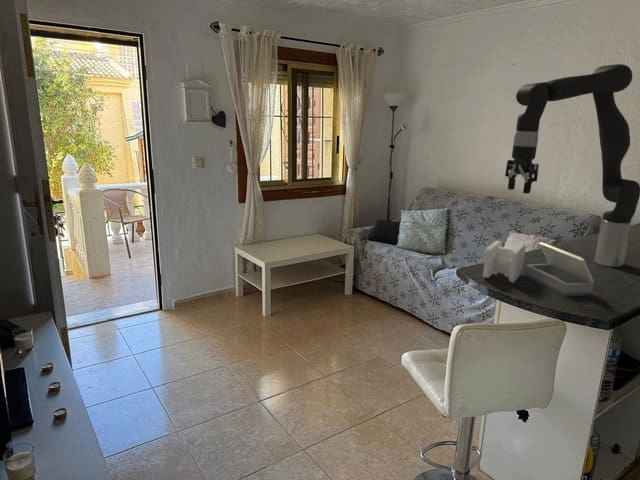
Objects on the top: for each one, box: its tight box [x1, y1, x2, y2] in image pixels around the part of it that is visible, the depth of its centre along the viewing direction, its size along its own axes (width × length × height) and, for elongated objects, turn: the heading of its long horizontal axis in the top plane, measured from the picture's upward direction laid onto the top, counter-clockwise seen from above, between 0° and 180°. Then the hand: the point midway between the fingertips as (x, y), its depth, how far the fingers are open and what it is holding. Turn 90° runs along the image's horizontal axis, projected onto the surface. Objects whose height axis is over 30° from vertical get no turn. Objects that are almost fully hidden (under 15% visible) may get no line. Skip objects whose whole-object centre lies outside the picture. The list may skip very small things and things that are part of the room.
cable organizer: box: [482, 240, 526, 284], centre depth 158 cm, size 15×11×12 cm
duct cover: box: [538, 241, 595, 284], centre depth 152 cm, size 10×20×1 cm
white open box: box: [523, 263, 594, 298], centre depth 153 cm, size 10×20×4 cm, turn 13°
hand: (518, 191), depth 160 cm, fingers open, 8 cm apart
